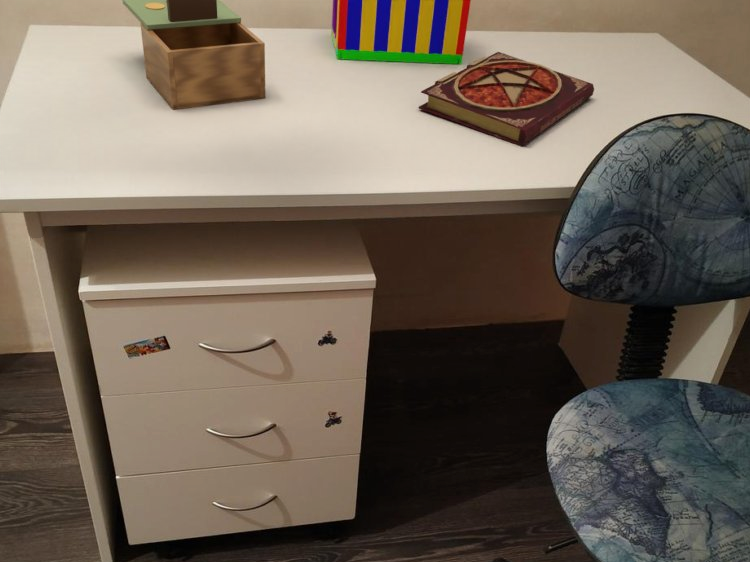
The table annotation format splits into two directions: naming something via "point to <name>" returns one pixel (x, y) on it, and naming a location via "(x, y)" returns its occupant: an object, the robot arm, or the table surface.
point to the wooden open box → (204, 64)
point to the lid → (180, 13)
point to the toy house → (400, 30)
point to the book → (506, 97)
